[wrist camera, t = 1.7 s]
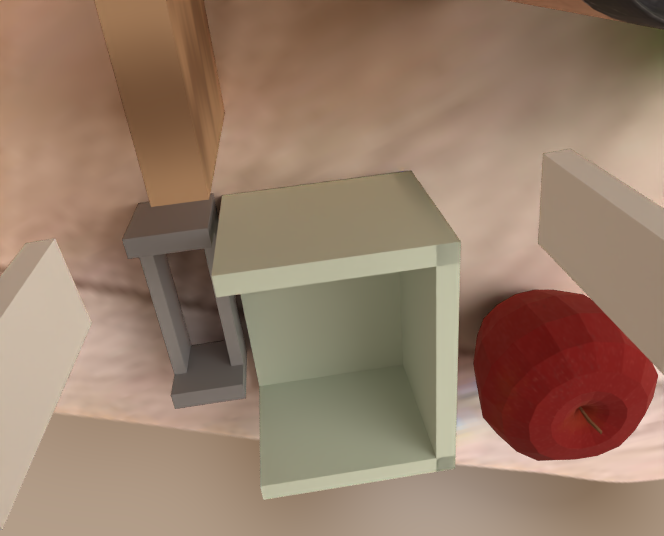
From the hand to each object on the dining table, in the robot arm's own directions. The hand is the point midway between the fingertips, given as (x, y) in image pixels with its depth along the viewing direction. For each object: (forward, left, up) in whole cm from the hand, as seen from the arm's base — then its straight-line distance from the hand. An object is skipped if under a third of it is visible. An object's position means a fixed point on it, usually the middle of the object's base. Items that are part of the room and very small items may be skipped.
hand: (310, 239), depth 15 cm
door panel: (-3, -5, -20) cm, 20 cm away
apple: (+19, +15, -20) cm, 32 cm away
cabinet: (+14, -1, -20) cm, 24 cm away
